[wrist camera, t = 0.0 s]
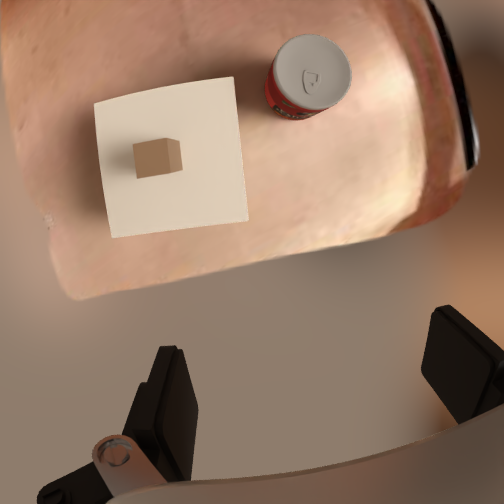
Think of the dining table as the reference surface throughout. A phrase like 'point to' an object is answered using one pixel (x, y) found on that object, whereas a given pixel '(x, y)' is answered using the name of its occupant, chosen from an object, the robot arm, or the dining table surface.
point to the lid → (171, 158)
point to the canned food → (307, 77)
